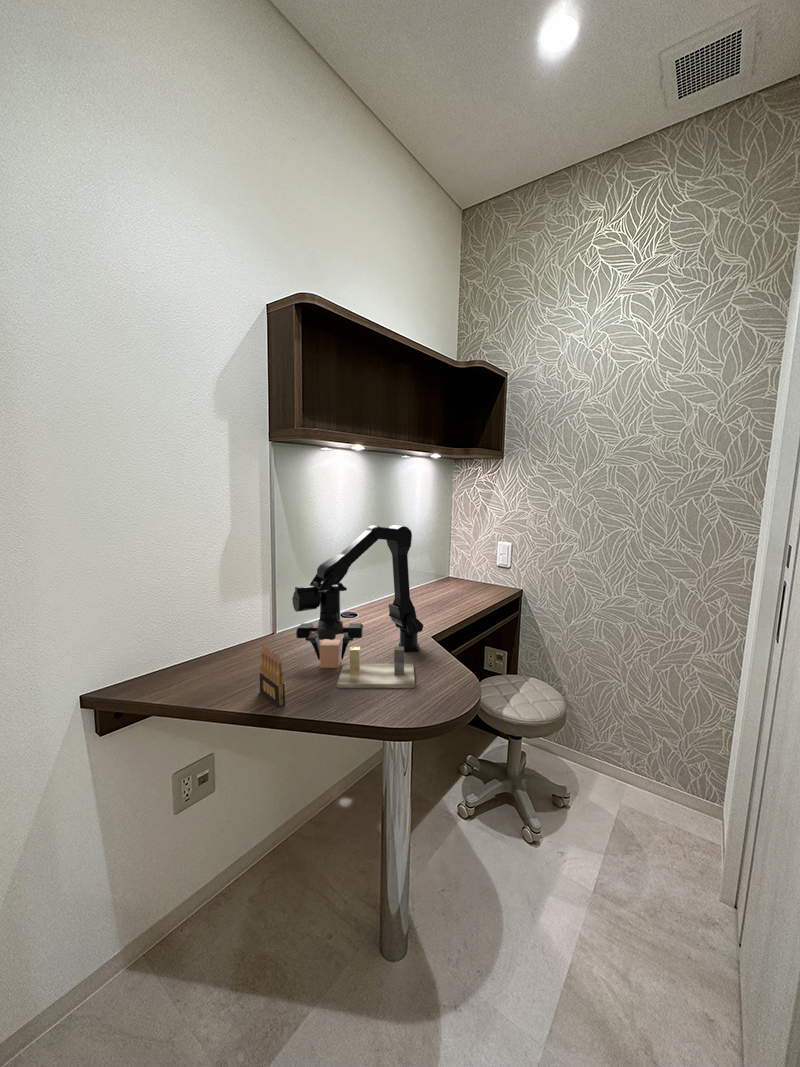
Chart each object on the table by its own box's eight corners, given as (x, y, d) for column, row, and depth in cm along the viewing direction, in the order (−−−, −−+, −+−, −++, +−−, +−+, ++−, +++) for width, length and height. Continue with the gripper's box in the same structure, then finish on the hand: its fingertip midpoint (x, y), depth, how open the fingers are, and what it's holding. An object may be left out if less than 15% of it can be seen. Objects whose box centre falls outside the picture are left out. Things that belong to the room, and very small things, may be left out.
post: (350, 671, 125) (350, 646, 125) (360, 671, 125) (360, 646, 125) (349, 675, 123) (349, 649, 122) (359, 675, 123) (359, 649, 122)
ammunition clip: (259, 692, 115) (258, 645, 114) (266, 690, 116) (265, 644, 115) (278, 707, 107) (276, 657, 105) (285, 705, 108) (284, 655, 107)
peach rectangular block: (323, 661, 136) (323, 639, 135) (340, 661, 136) (340, 639, 135) (320, 667, 131) (320, 645, 130) (338, 667, 131) (338, 645, 130)
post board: (343, 667, 131) (343, 639, 130) (413, 667, 131) (413, 639, 130) (337, 687, 117) (336, 657, 116) (414, 687, 117) (414, 657, 116)
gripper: (291, 614, 124) (292, 670, 125) (359, 614, 124) (360, 670, 125) (300, 604, 135) (301, 655, 136) (363, 604, 135) (363, 655, 136)
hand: (330, 659), depth 133 cm, fingers open, 6 cm apart
